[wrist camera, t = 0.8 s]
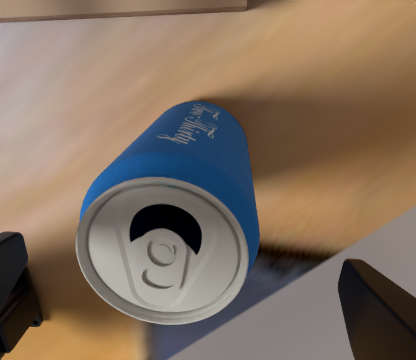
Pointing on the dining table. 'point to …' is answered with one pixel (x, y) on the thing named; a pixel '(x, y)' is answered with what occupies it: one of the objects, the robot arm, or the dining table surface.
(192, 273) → the beverage can
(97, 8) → the tray
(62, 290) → the dining table surface
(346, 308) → the robot arm
